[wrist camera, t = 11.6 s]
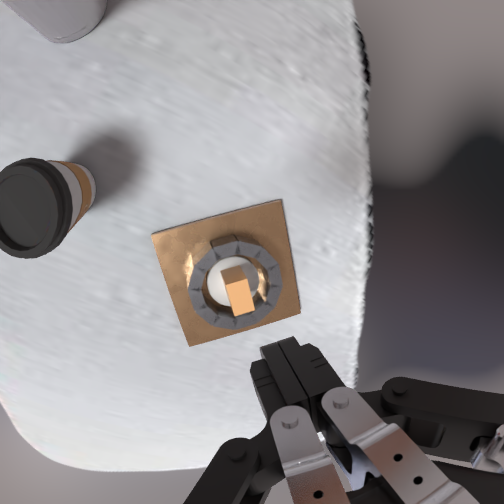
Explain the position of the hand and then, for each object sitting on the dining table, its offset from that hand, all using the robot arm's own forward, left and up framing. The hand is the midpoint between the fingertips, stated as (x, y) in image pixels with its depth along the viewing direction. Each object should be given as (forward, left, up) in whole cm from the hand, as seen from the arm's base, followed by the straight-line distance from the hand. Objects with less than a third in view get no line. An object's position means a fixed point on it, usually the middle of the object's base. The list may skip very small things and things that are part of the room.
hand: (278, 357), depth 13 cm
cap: (+8, +1, -27) cm, 28 cm away
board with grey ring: (+7, +1, -28) cm, 29 cm away
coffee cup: (-9, -15, -28) cm, 33 cm away
